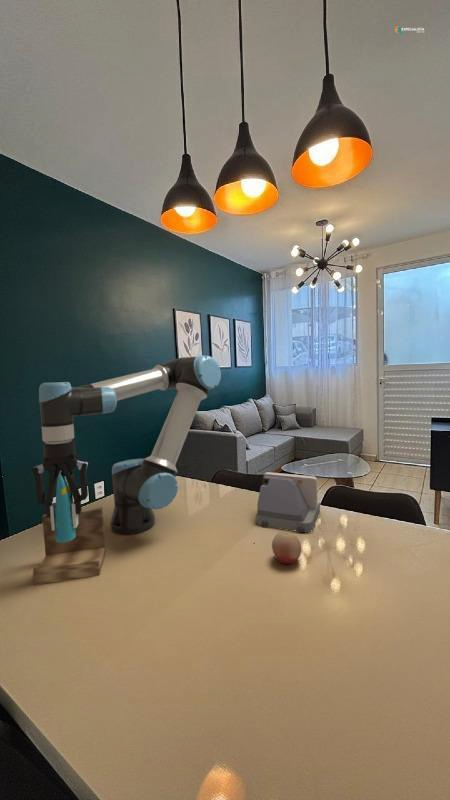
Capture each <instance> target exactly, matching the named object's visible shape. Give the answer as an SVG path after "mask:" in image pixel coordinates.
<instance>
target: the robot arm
mask: <svg viewBox="0 0 450 800" xmlns="http://www.w3.org/2000/svg"><path fill="white" fill-rule="evenodd" d="M221 377H222V371H221V369H220V364H219V363H218V361H217V360H216V359H215V358H213V356H210V355H202V354H201V355H199V354H198V355H196V356H186V357H183V356H182V357H179V358H176V359H172V360H170V361H167V362H163V363H160V364H157V365H155V366H154V367H152V368H151V369H147V370H143V371H139V372H135V373H131V374H126V375H122V376H118V377H114V378H113V377H112V378H110V379H106V380H105V379H104V380H101V381H98V382H94V383H93V382H92V383H89V384H84V385H80V386H77V387H75V386H72V385H71V382H69V381H63V382H61V381H60V382H43V383H41V384H40V386H38V387H39V390H38V394H39V395H38V396H39V397H38V399H39V400H38V402H39V409H40V411H39V412H40V420H41V434H42V435H41V437H42V441H43V442H44V443H43V444H42V448H43V462H42V463H41V464H39V465H38V464H37V465H35V466H34V467H33V468H32V469H31V472H32V474H33V475H34V480H35V490H36V491H35V492H36V501H37V502H36V503H37V505H38V506H39V505H43V506H45V512H46V514H47V517H48V518H49V517H51V527H52V531H54V530H55V529H56V527H55V511H56V502H54V497H55V493H56V492H55V491H56V487H57V479H58V475H59V473H60V471H61V470H62V471H61V476H65V477H66V480H67V482H68V487H69V491H70V494H71V496H72V500H73V501H72V502H71V503H72V518H73V528H76V527H77V526H78V524H79V523H78V514H80V513H81V510H82V501H85V500H86V499H87V498H88V496H89V492H88V490H89V487H88V475H87V474H88V473H87V469H88V466H89V462H88V461H80V460H79V459H78V458H77V456H76V455H77V454H76V441H75V440H73V439H75V426H74V417H81V416H83V417H84V416H91V415H92V416H93V415H101V414H102V415H104V414H110V413H113V412H114V411H115V410H116V408H117V403H118V401H121V400H124V399H128V398H131V397H136V396H140V395H143V394H147V393H149V392H153V391H156V390H159V391H166V390H172V389H176V390H177V393H176V395H175V398H174V400H173V403H172V405H171V407H170V409H169V412H168V415H167V417H166V419H165V421H164V423H163V426H162V429H161V430H160V433H159V434H158V435H159V436H158V437H157V440H156V443H155V445H154V447H153V449H152V451H151V455H149V456H147V457H145V458H134V459H126V460H123V461H119V462H116V463H113V465H112V467H111V478H112V480H111V481H112V488H113V489H112V491H113V503H114V507H113V511H112V515H111V519H110V531H111V532H113V534H116V535H123V536H125V535H126V536H128V535H137V534H139V533H142V532H146V531H148V530H149V529H151V528H153V526H155V524H156V515H155V513H154V510H155V511H157V510H162V509H164V508H166V507H167V506H169V505H170V504H171V503H172V502H173V501H174V500H175V498H176V496H177V494H178V490H179V488H178V487H179V485H178V480H177V479H176V476H177V474H178V469H177V467H176V464H177V462H178V459H179V456H180V454H181V451H182V449H183V446H184V444H185V442H186V439H187V436H188V434H189V431H190V428H191V426H192V424H193V421H194V418H195V416H196V414H197V412H198V409H199V405H200V403H201V401H203V400H206V399H207V398H208V394H209V392H210V390H213V389H215V388H217V386H219V384H220V383H221ZM76 467H77V468H78V470H79V480H80V482H79V483H80V489H79V488H78V487H79V486H78V485H77V482H76V479H75V478H76V477H75V473H74V471H73V470H75V468H76ZM45 471H46V472H47V473H49V476H48V478H49V479H48V486H47V491H46V492H45V490H46V488H45V481H44V472H45ZM79 490H80V491H79Z"/></svg>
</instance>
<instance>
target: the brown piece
mask: <svg viewBox="0 0 450 800" xmlns="http://www.w3.org/2000/svg"><path fill="white" fill-rule="evenodd" d="M41 520H42V529H43V532H42V533H43V541H44V552H45V556H44V558H43V559H42V561H41V563H40V564H39V565H38V567H34V568H33V569H32V574H33V585H34V586H37V585H42V584H49V583H50V584H51V583H56V582H63V581H69V580H75V579H81V578H87V577H88V578H89V577H94V576H100V575H101V571H102V568H103V564H104V561H105V557H106V554H107V551H106V550H107V549H106V539H105V538H106V537H105V527H104V524H105V523H104V514H103V507H97V508H96V507H95V508H89V509H88V508H87V509H81V513H80V514H78V523H79V524H78V526H77V527H76V528H75V533H76V537H75V538H74V539H73V540H71V541H68V542H57V541H56V529H55V530H54V531H52V527H51V517H49V518H48V517H47V514H43V515H42V516H41Z"/></svg>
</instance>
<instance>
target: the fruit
mask: <svg viewBox="0 0 450 800" xmlns="http://www.w3.org/2000/svg"><path fill="white" fill-rule="evenodd" d="M271 550H272V553H273V555H274V556H275V558H276V559H277V560H278V561H279V562H281V563H282V564H285V565H288V564H289V565H290V564H293V563H296V561H297V560H298V559H299V557H300V556H301V552H302V545H301V542H300V539H299V537H298V536H297V535H296V534H294V533H290V532H288V531H285V530H284V531H278V532H277V533H276V534H275V535H274V537H273V539H272V542H271Z"/></svg>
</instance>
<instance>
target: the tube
mask: <svg viewBox="0 0 450 800" xmlns="http://www.w3.org/2000/svg"><path fill="white" fill-rule="evenodd" d="M61 471H62V470H61ZM61 471H60V473H59V475H58V477H57V480H56V487H55V491H56V492H55V503H56V511H55V527H56V541H57V542H68V541H71V540H73V539H74V538H75V537H76V533H75V528H73V518H72V503H73V502H72V498H71V491H70V487H69V484H68V481H67V480H66V477H65V476H61Z"/></svg>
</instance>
